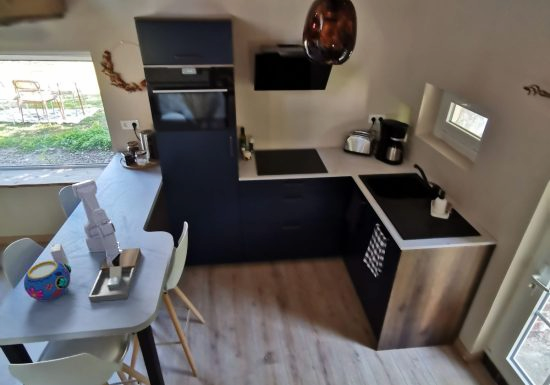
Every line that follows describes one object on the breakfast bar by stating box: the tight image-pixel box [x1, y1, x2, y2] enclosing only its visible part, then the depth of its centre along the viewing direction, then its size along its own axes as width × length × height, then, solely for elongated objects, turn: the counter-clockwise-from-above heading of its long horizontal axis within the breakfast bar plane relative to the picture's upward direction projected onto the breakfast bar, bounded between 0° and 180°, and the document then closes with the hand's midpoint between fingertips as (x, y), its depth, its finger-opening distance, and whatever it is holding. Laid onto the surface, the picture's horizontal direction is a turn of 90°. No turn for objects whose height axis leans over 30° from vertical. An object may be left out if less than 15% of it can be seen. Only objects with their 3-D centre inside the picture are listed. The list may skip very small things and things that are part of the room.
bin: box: [88, 268, 137, 303], centre depth 160 cm, size 16×18×4 cm
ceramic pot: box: [23, 260, 72, 302], centre depth 153 cm, size 18×18×15 cm
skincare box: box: [50, 243, 69, 265], centre depth 169 cm, size 6×4×12 cm
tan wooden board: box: [100, 247, 142, 272], centre depth 173 cm, size 16×14×4 cm
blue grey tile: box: [107, 277, 122, 288], centre depth 161 cm, size 5×5×2 cm
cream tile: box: [110, 266, 122, 277], centre depth 164 cm, size 5×5×2 cm
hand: (117, 265), depth 166 cm, fingers closed
